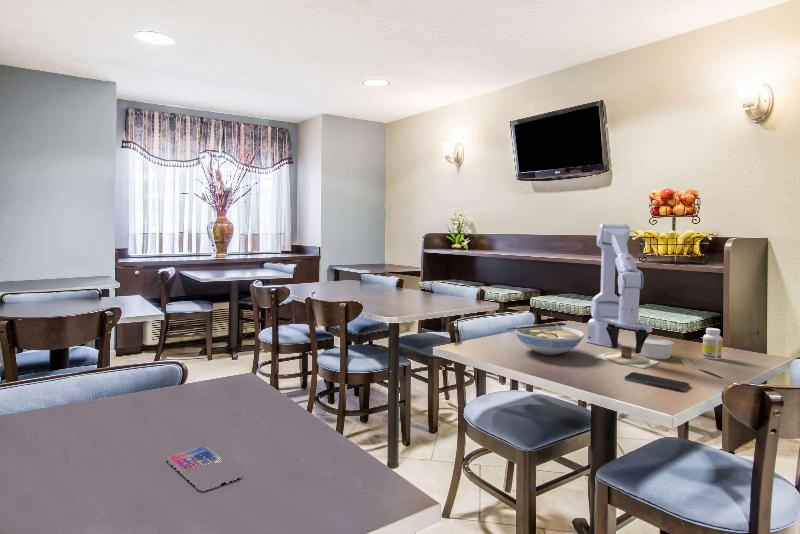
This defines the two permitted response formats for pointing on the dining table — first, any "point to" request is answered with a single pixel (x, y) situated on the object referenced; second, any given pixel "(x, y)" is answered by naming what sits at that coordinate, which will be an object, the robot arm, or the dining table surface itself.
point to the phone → (657, 382)
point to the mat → (629, 364)
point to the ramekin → (657, 348)
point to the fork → (700, 369)
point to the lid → (626, 357)
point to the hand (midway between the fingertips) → (626, 350)
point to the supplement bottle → (712, 344)
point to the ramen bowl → (549, 338)
